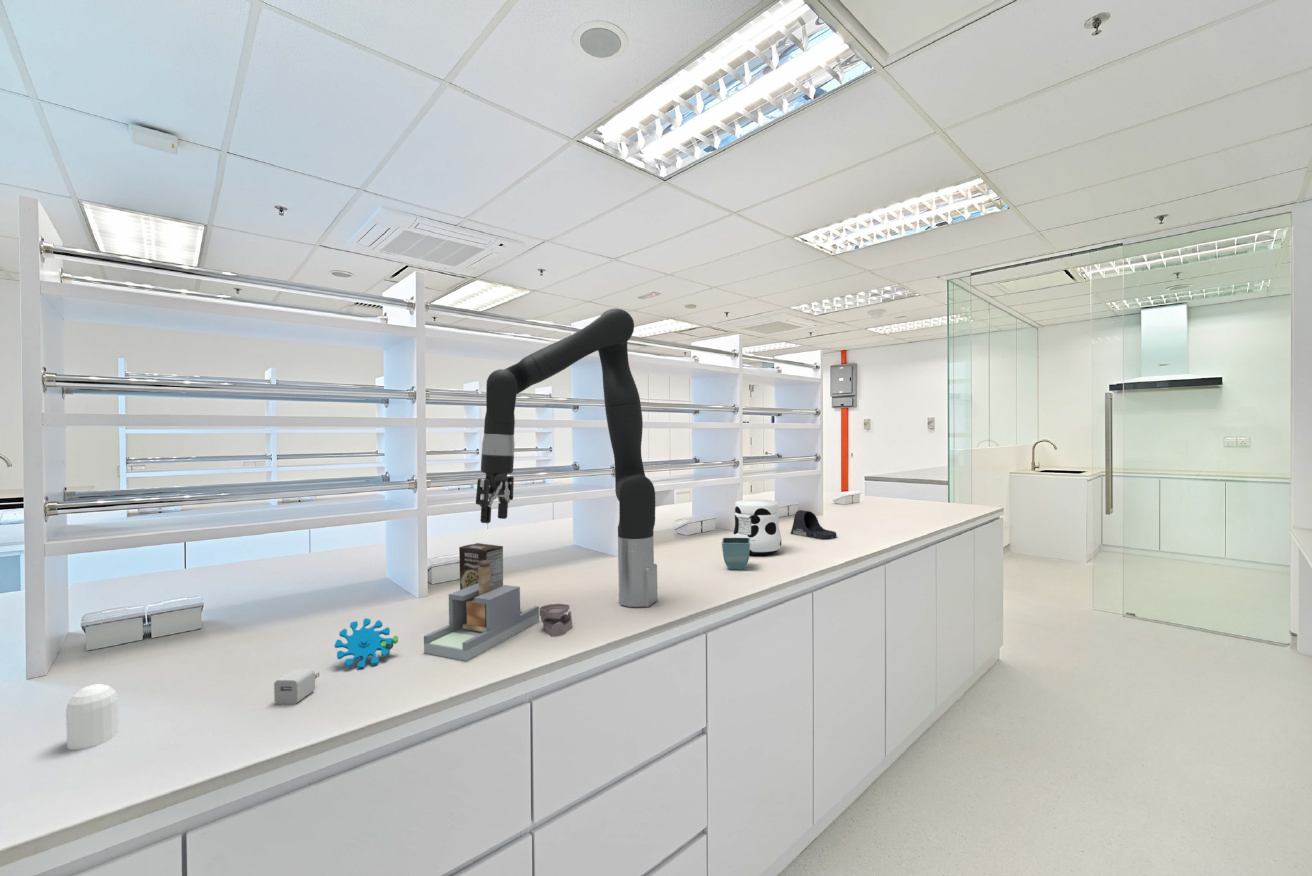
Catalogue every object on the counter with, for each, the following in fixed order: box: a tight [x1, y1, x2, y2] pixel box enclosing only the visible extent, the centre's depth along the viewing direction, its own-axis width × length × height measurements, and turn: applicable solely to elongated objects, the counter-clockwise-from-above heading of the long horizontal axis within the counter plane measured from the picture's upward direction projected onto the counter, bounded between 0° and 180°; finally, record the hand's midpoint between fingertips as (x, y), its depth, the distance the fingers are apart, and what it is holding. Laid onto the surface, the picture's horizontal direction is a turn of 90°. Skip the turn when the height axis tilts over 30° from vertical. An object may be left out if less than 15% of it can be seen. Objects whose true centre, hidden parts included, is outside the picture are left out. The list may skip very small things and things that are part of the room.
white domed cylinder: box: [65, 683, 120, 751], centre depth 82 cm, size 5×5×8 cm
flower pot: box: [721, 537, 750, 571], centre depth 177 cm, size 9×9×9 cm
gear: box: [334, 618, 399, 670], centre depth 110 cm, size 11×6×10 cm
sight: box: [790, 509, 837, 541], centre depth 228 cm, size 9×18×10 cm, turn 35°
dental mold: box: [539, 603, 573, 637], centre depth 124 cm, size 8×7×5 cm
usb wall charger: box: [273, 668, 320, 705], centre depth 95 cm, size 4×7×4 cm, turn 177°
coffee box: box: [458, 542, 504, 591], centre depth 139 cm, size 9×6×16 cm
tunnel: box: [423, 583, 540, 662], centre depth 121 cm, size 11×24×10 cm, turn 157°
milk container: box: [732, 499, 782, 555], centre depth 199 cm, size 17×17×18 cm
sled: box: [463, 560, 491, 632], centre depth 121 cm, size 6×7×14 cm
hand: (494, 520), depth 133 cm, fingers open, 8 cm apart
